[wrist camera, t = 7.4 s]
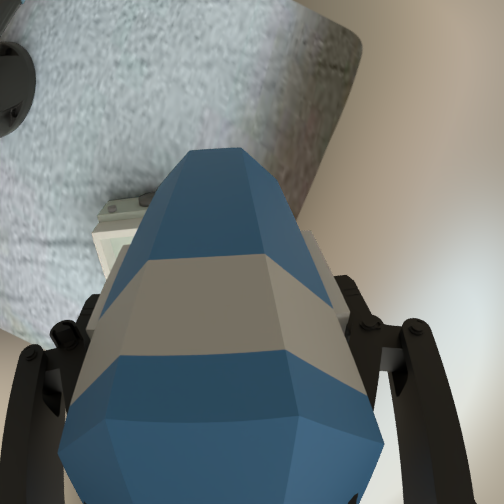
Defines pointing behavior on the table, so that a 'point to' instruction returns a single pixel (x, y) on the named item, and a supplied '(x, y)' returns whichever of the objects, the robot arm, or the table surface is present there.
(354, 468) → the water bottle
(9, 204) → the table surface
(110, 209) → the open storage box
